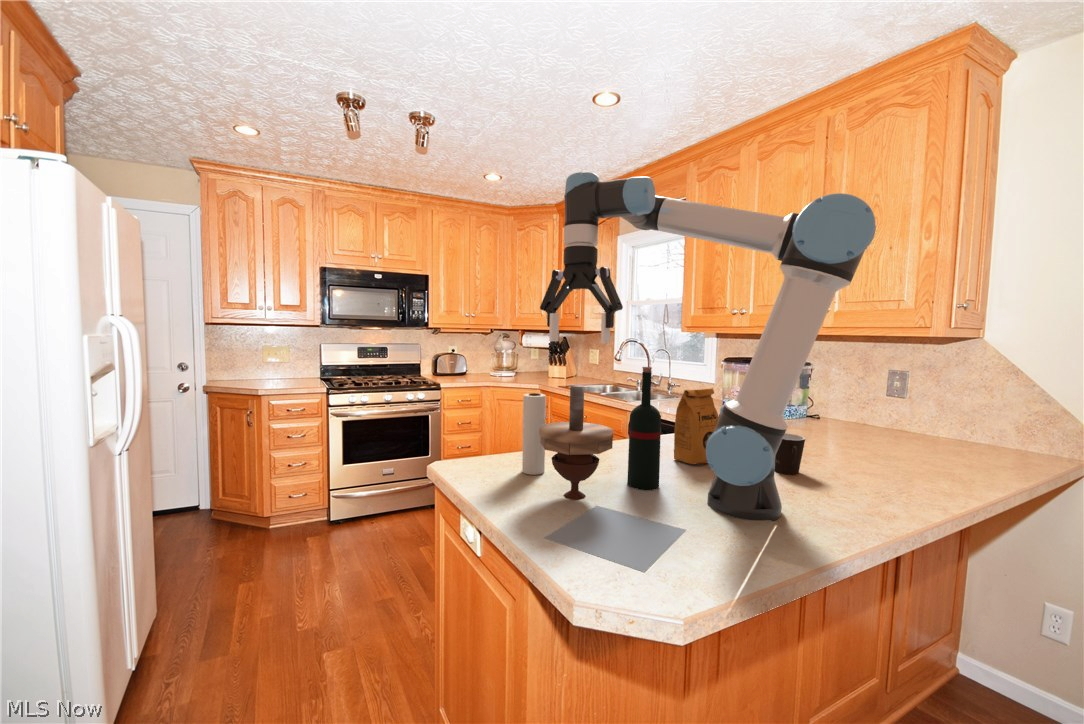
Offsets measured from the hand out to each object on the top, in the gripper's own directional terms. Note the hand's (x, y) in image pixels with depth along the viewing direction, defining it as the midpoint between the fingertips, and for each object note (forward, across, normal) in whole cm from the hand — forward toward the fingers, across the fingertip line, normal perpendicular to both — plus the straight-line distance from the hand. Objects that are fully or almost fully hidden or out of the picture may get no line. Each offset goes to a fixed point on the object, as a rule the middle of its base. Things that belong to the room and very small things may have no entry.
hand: (578, 342), depth 107 cm
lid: (+24, 0, 0) cm, 24 cm away
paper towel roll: (+36, +19, -10) cm, 42 cm away
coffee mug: (+36, -36, -53) cm, 74 cm away
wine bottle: (+36, -8, -19) cm, 42 cm away
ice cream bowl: (+36, 0, 0) cm, 36 cm away
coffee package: (+36, -13, -48) cm, 62 cm away
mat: (+36, -17, +12) cm, 42 cm away
